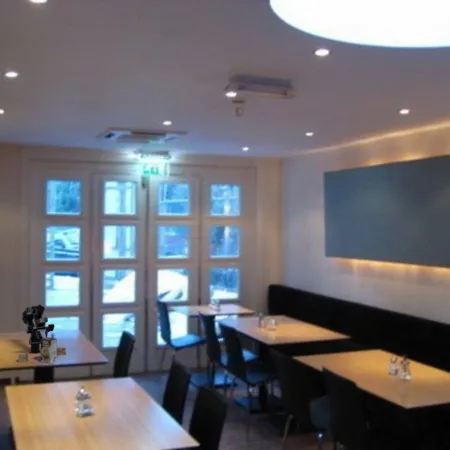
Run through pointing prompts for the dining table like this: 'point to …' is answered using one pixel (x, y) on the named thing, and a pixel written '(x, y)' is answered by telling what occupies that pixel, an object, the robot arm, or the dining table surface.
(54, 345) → the coffee box
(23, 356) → the walnut cube
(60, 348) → the walnut cube
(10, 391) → the dining table surface
